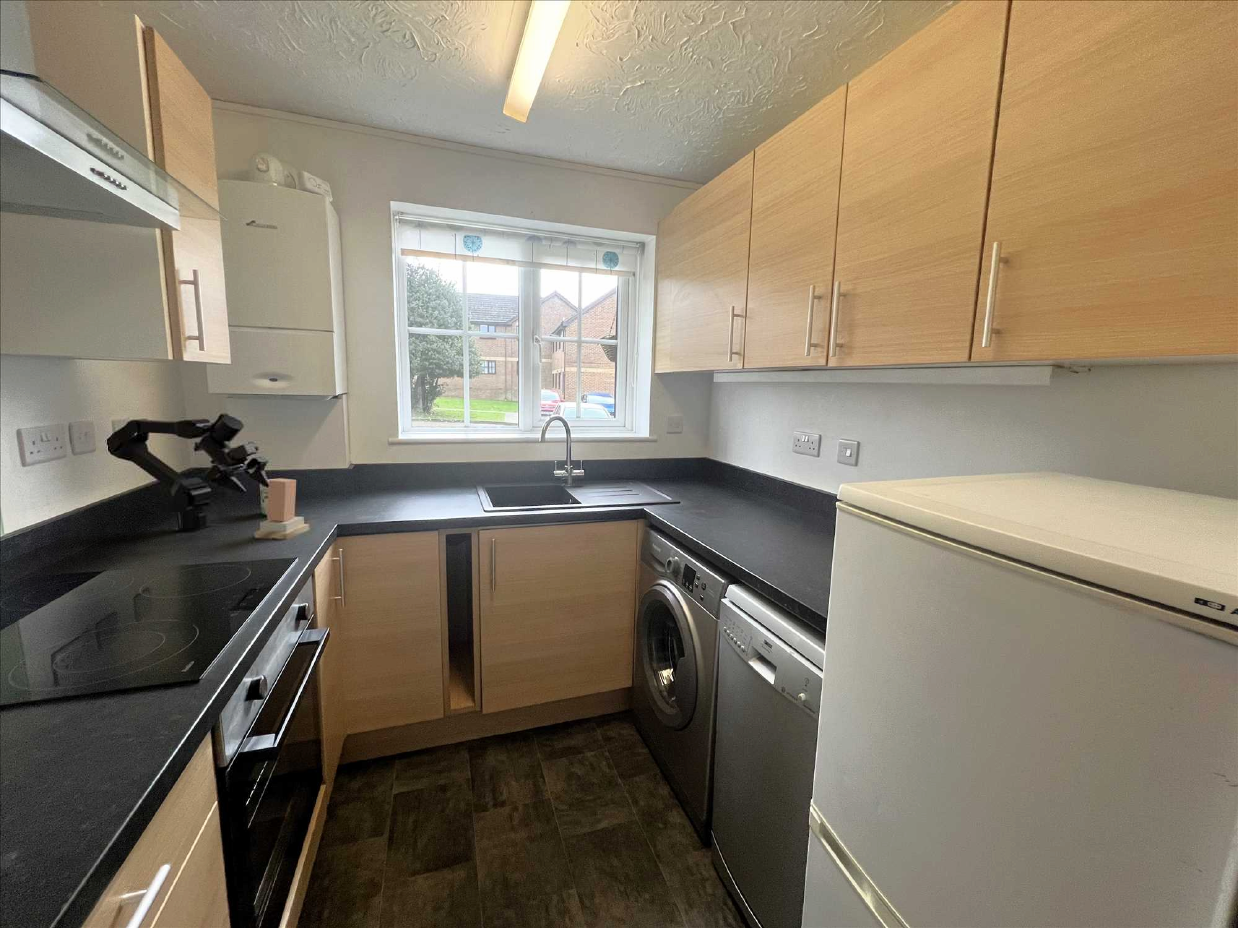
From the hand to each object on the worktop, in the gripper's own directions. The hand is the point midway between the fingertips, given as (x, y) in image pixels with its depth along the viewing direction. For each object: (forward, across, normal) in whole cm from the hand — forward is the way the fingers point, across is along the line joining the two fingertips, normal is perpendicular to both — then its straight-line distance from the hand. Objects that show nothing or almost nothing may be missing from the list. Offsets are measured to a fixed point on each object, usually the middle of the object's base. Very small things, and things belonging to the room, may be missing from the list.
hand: (257, 489), depth 156 cm
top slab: (+13, 0, +3) cm, 14 cm away
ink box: (+1, +21, +18) cm, 28 cm away
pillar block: (+11, 0, +1) cm, 11 cm away
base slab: (+15, 0, +5) cm, 16 cm away
